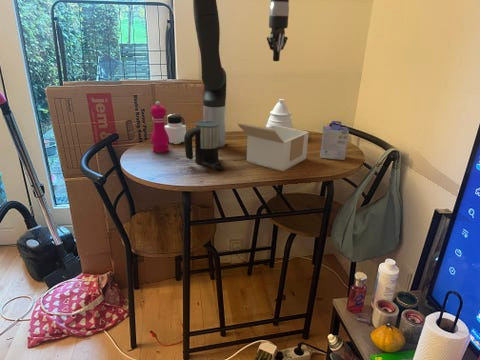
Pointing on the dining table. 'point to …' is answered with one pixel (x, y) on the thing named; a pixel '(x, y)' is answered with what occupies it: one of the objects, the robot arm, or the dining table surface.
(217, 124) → the milk frother
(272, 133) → the front flap
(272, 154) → the carton
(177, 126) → the medicine bottle
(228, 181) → the dining table surface
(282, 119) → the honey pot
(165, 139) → the pepper mill
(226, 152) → the dining table surface
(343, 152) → the ink cartridge box
